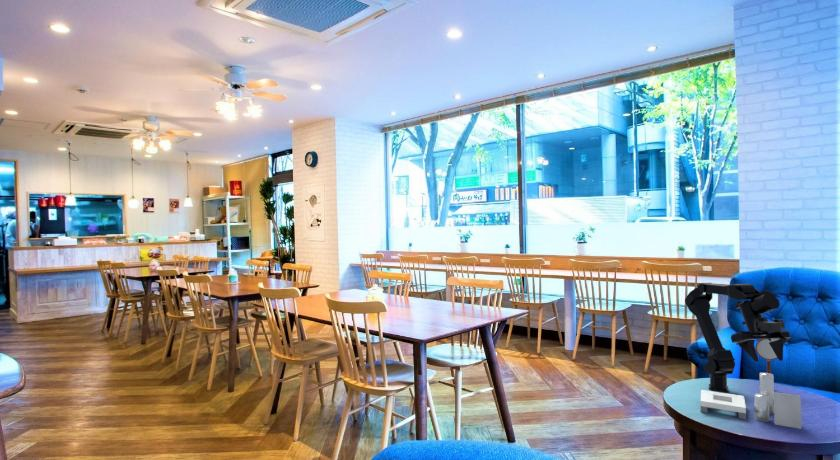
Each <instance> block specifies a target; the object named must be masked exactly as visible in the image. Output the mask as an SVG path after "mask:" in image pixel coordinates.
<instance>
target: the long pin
mask: <svg viewBox="0 0 840 460" xmlns="http://www.w3.org/2000/svg"><path fill="white" fill-rule="evenodd" d="M758 377H759V381H758V383H759V385H758V386H759V388H758V389H759V392H758V393H759V394H765V395H768V396H769V415H774V392H775V390H774V389H775V387H774V384H775V382H774V381H775V380H774V379H775V377H774V374H773V373H771V374H770V373H767V372H759V376H758Z"/></svg>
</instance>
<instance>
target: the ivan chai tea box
mask: <svg viewBox="0 0 840 460" xmlns="http://www.w3.org/2000/svg"><path fill="white" fill-rule="evenodd" d="M801 399H802V398H801V395H800V394H799V395H798V394H792V393H783V392H780V391H779V392H777V391H774V413H773V423H774V425H777V426H783V427H789V428H792V429H794V428H795V429H799V430H802V402H801V401H802V400H801Z"/></svg>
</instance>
